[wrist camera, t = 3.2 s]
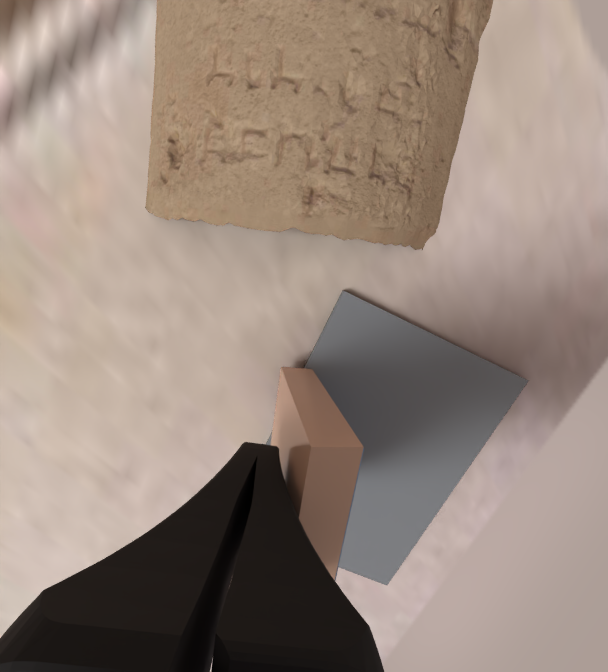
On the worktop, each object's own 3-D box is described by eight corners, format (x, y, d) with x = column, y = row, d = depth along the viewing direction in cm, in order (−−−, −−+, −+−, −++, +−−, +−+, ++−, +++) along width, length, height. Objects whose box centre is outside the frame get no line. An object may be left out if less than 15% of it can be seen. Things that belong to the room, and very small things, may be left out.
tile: (297, 476, 15) (332, 610, 9) (266, 477, 14) (281, 618, 9) (315, 369, 13) (368, 447, 8) (280, 366, 13) (310, 447, 7)
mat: (385, 578, 17) (387, 585, 16) (228, 518, 16) (226, 524, 15) (522, 377, 14) (528, 380, 14) (342, 290, 13) (343, 290, 13)
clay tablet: (503, -5, 11) (565, -92, 8) (446, 259, 13) (481, 256, 11) (134, -58, 11) (78, -166, 8) (138, 222, 13) (95, 208, 10)
